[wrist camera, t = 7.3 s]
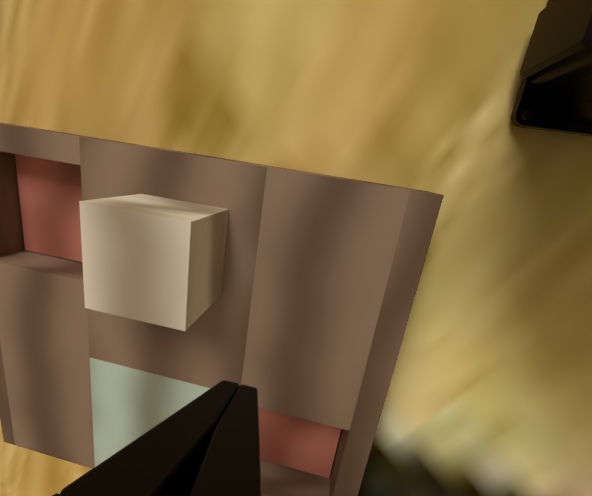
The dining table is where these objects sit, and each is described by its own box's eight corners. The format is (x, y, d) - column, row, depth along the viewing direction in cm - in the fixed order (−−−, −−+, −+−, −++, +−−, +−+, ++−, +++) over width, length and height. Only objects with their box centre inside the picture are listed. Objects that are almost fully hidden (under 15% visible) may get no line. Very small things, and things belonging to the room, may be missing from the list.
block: (228, 209, 16) (190, 221, 12) (221, 295, 17) (185, 331, 13) (141, 193, 16) (79, 200, 12) (141, 278, 18) (84, 307, 14)
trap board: (429, 191, 16) (443, 195, 14) (343, 505, 23) (343, 544, 20) (2, 123, 19) (-47, 116, 17) (35, 416, 26) (3, 441, 24)
